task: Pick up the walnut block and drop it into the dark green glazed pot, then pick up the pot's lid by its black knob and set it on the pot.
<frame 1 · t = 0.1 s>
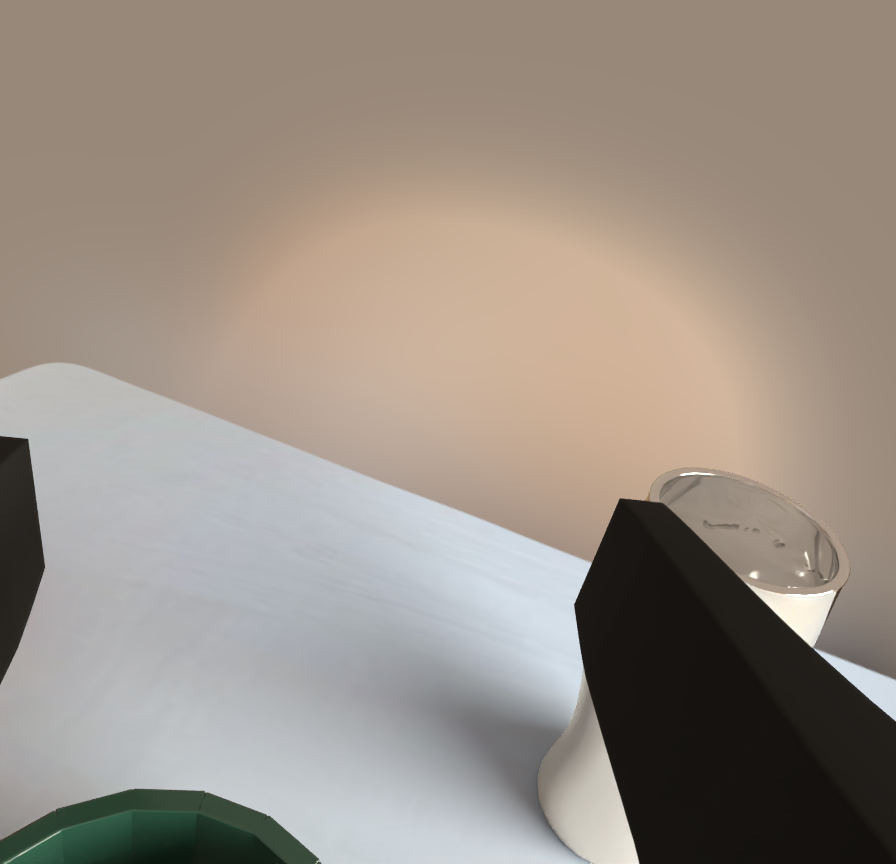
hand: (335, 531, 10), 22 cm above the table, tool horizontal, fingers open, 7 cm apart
beer glass: (604, 805, 32), on the table
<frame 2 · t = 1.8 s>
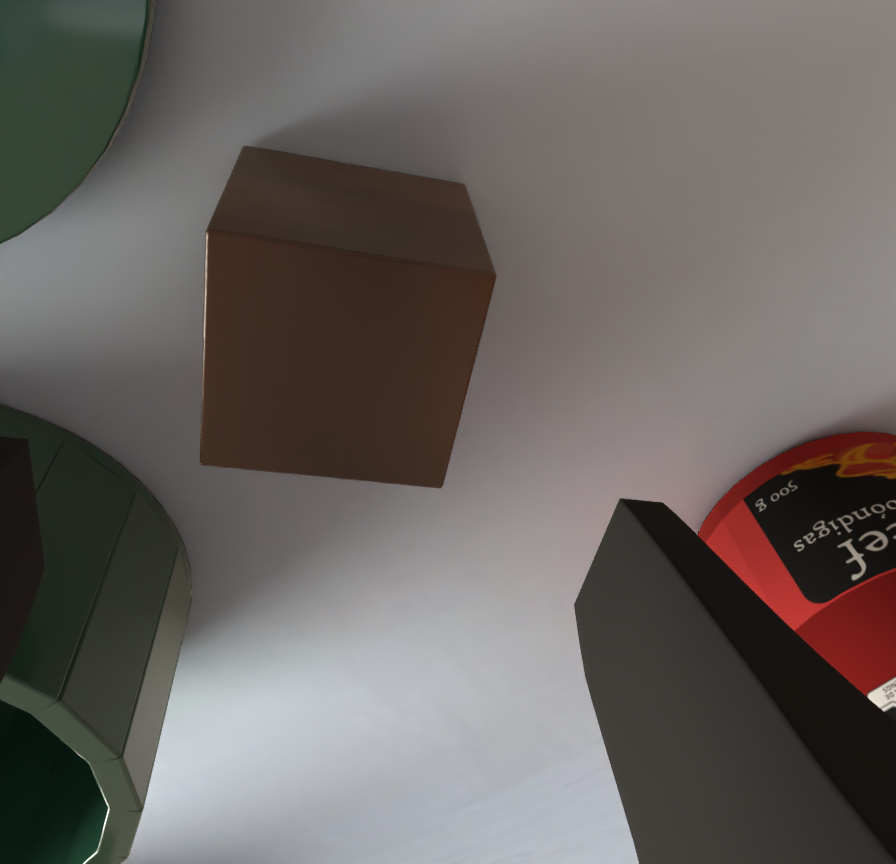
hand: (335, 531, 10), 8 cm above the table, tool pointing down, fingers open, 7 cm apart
block: (343, 268, 16), on the table
canned food: (808, 528, 23), on the table
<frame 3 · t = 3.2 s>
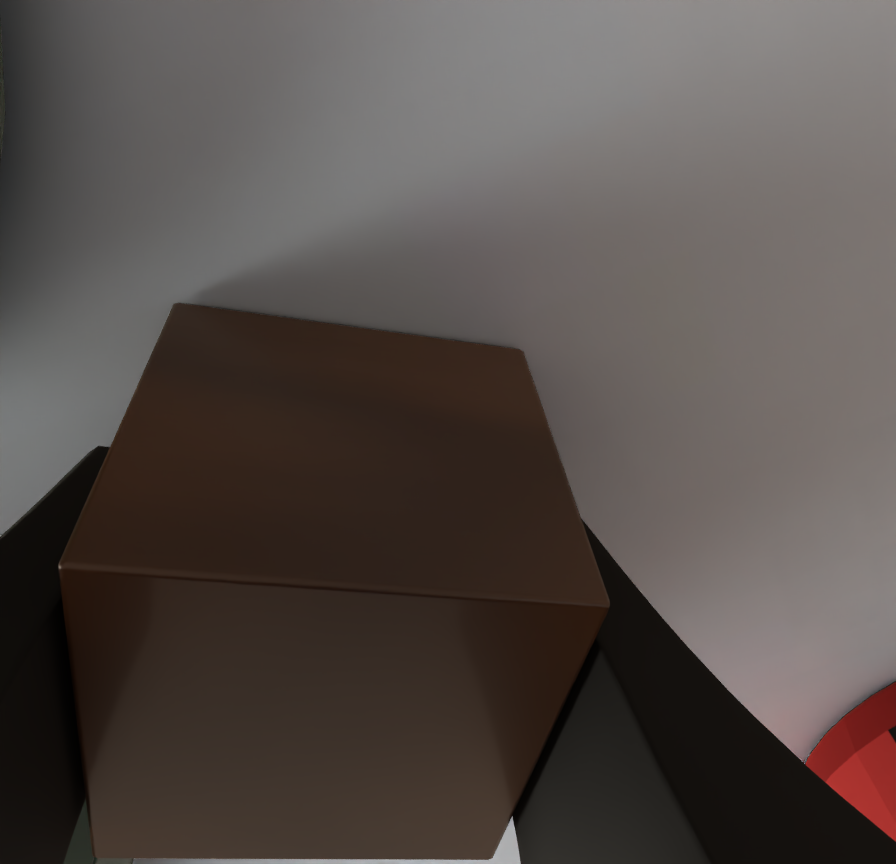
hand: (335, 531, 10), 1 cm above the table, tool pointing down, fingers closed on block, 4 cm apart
block: (335, 462, 11), on the table, touching gripper
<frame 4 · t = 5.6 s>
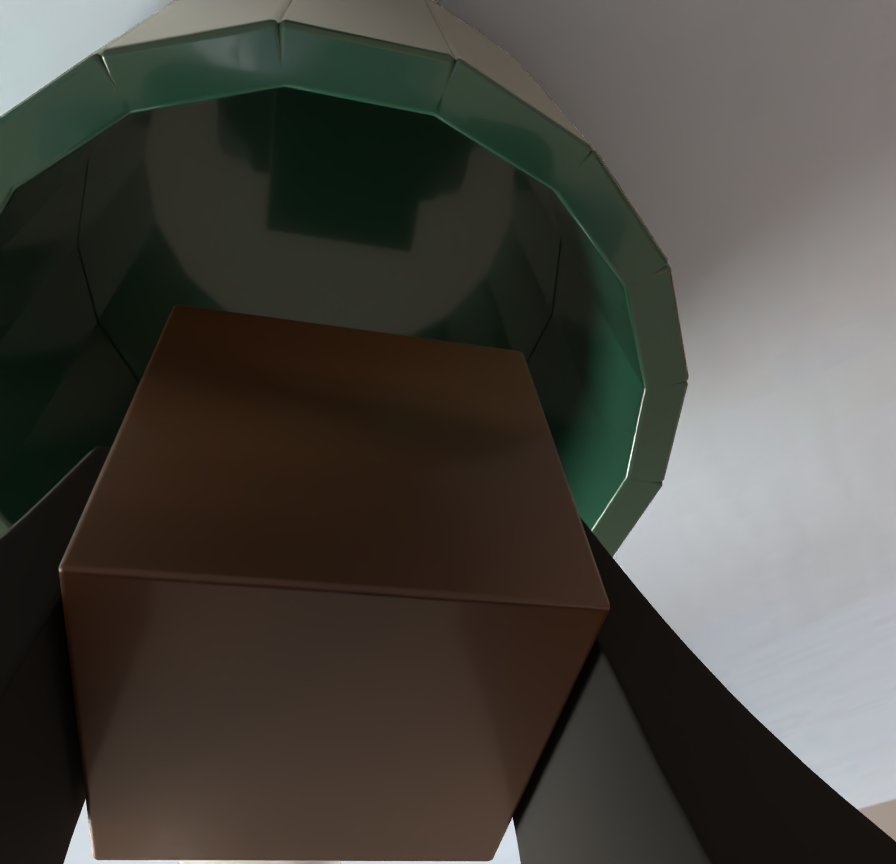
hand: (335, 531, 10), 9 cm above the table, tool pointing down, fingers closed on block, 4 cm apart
block: (335, 464, 11), point 7 cm above the table, touching gripper
pot: (329, 272, 17), on the table
beer glass: (271, 768, 28), on the table
when the fingers open (3 cm above the table, at t = 8.5 s): block stays where it is, resting on pot.
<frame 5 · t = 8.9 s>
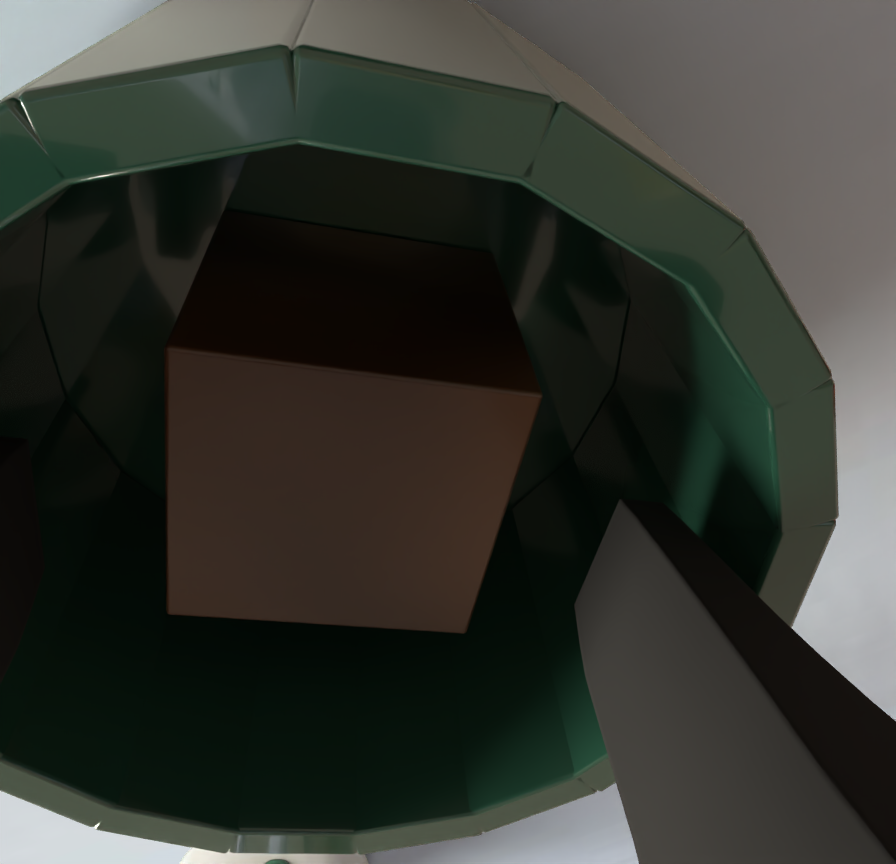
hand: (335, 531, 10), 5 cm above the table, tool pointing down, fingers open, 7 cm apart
block: (346, 349, 14), resting on pot
pot: (347, 337, 14), on the table
beer glass: (275, 862, 25), on the table
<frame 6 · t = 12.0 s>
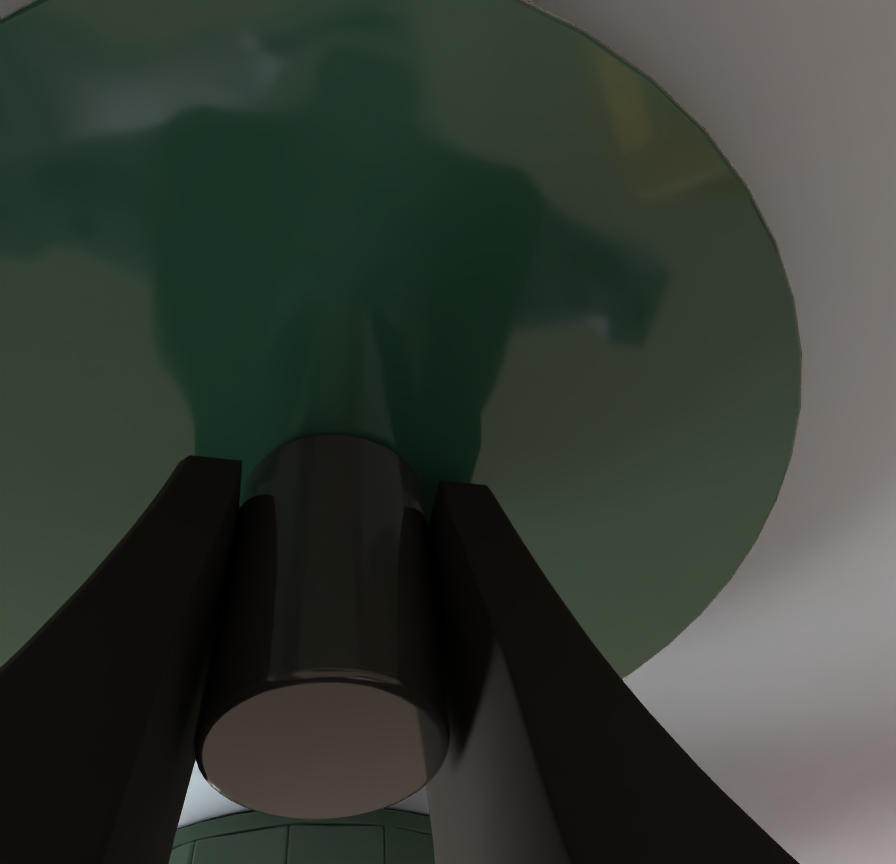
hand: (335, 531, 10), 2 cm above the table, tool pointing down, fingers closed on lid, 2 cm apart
lid: (335, 480, 10), point 1 cm above the table, touching gripper
when the fingers open (7 cm above the table, at t = 15.9 s): lid stays where it is, resting on pot.
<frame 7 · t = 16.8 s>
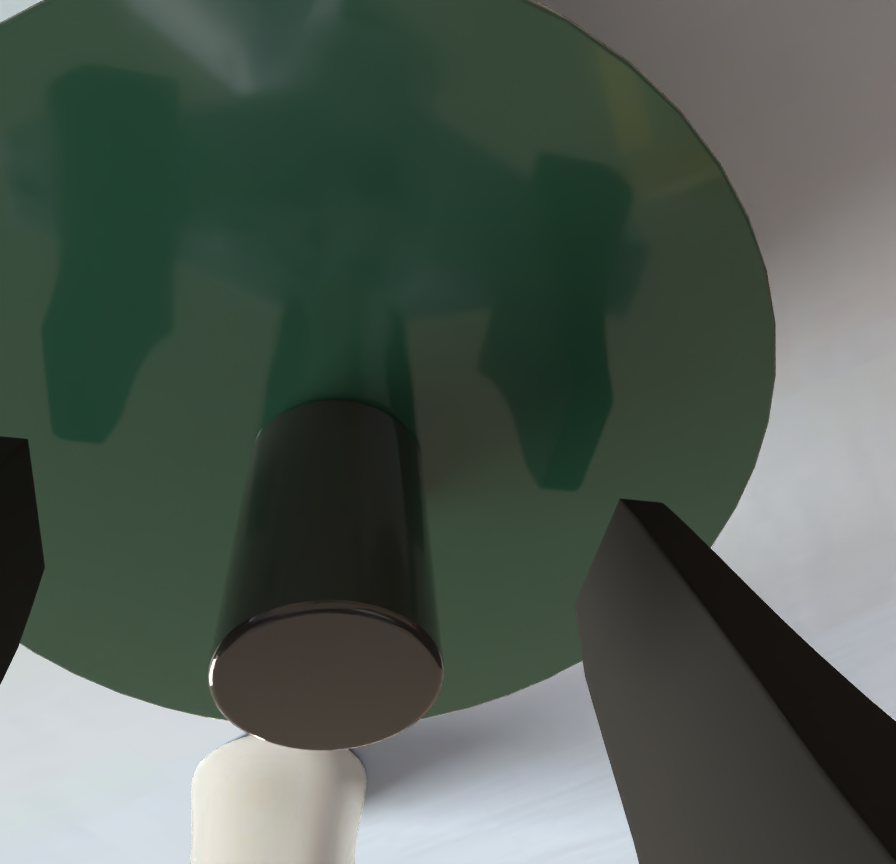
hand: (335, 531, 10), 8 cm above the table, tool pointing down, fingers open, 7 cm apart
lid: (337, 447, 11), point 6 cm above the table, touching pot
beer glass: (281, 774, 27), on the table
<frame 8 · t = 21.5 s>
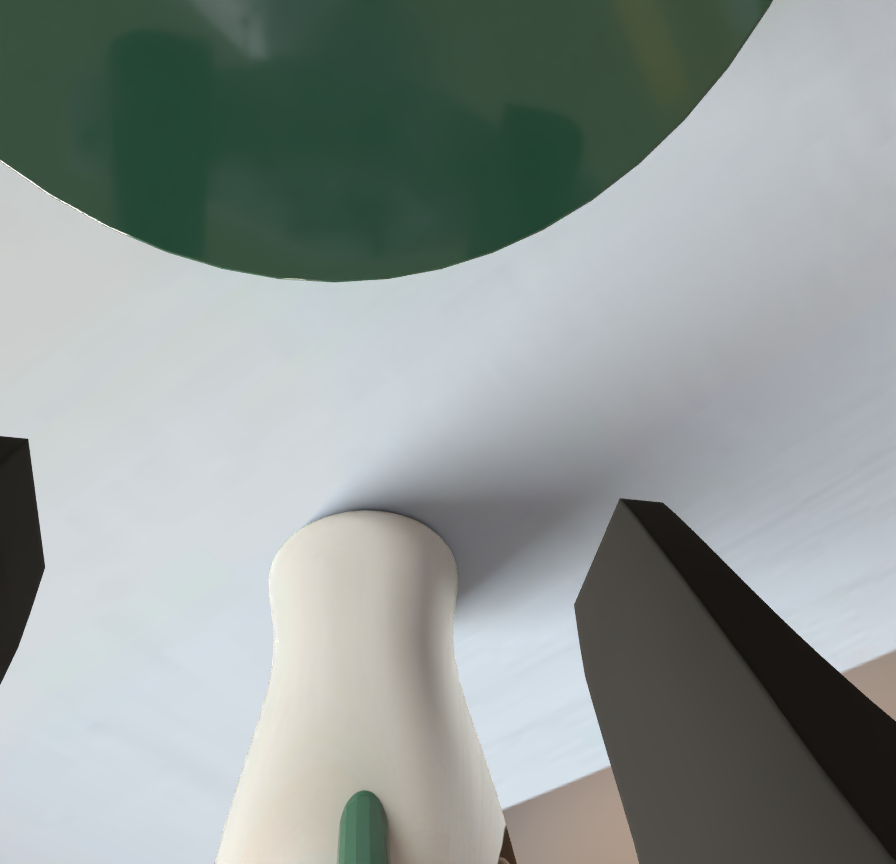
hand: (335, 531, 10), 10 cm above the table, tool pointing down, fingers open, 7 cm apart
beer glass: (364, 573, 25), on the table
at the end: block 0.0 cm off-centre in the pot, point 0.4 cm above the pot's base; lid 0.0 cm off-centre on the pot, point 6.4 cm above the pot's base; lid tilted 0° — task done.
